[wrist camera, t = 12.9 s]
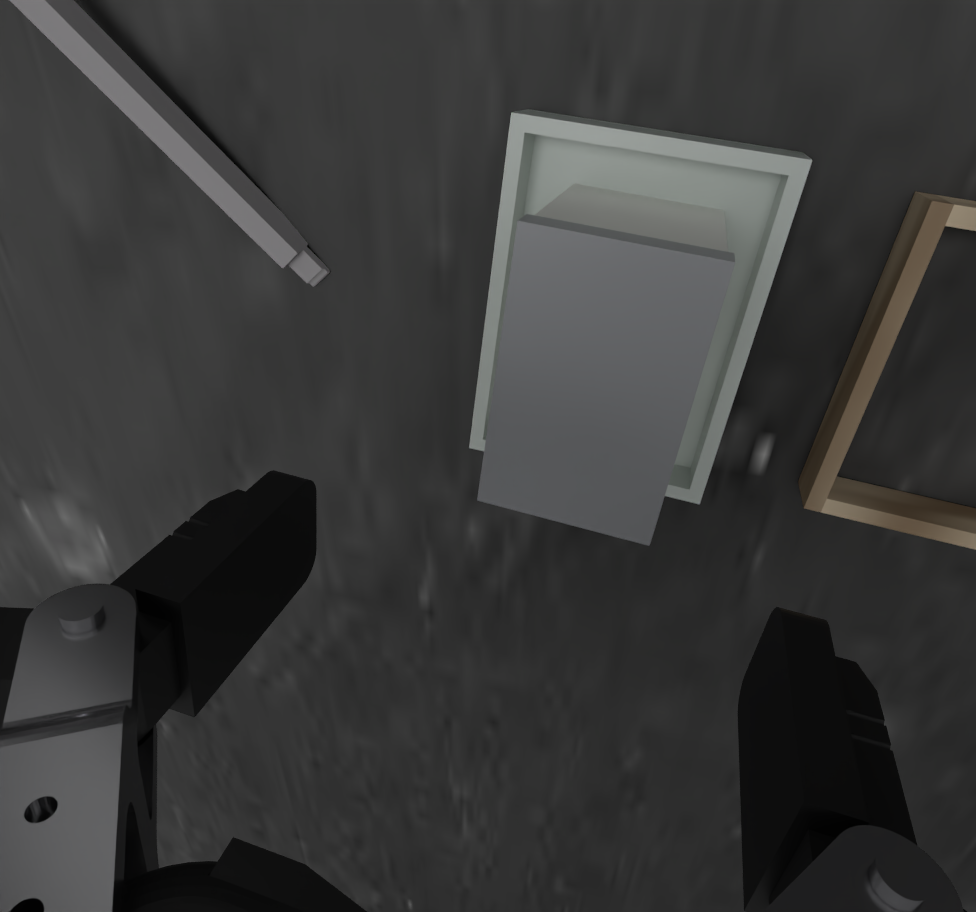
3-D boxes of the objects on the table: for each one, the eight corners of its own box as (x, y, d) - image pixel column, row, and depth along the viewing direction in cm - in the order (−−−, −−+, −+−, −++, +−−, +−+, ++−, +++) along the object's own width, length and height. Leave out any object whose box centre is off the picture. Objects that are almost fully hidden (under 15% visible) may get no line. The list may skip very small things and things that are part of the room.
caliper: (-67, -174, 25) (-274, -241, 20) (-56, -202, 25) (-266, -279, 19) (319, 284, 30) (233, 330, 24) (336, 268, 29) (252, 312, 24)
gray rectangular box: (727, 207, 23) (735, 262, 16) (664, 428, 27) (649, 545, 20) (572, 179, 24) (517, 220, 17) (533, 397, 28) (476, 500, 21)
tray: (803, 152, 23) (812, 160, 20) (700, 472, 29) (699, 504, 26) (528, 109, 24) (511, 112, 22) (486, 421, 30) (469, 447, 28)
